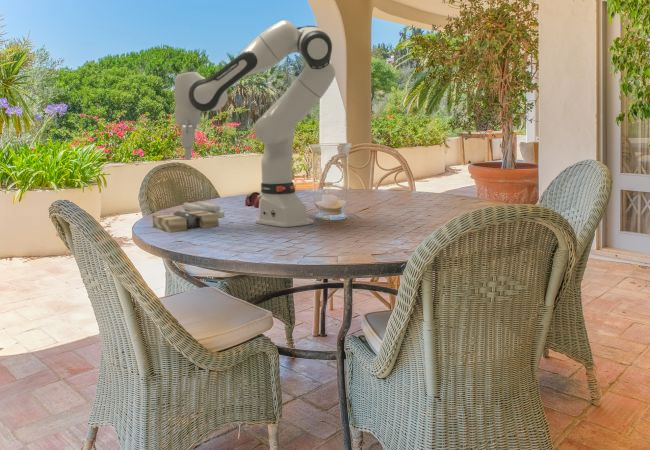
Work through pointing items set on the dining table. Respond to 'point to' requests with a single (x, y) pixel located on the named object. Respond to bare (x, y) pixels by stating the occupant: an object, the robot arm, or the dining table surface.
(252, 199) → the teeth model
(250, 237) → the dining table surface
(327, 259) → the dining table surface
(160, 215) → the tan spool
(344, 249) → the dining table surface
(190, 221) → the axle
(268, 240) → the dining table surface
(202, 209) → the plate with parallel rods
